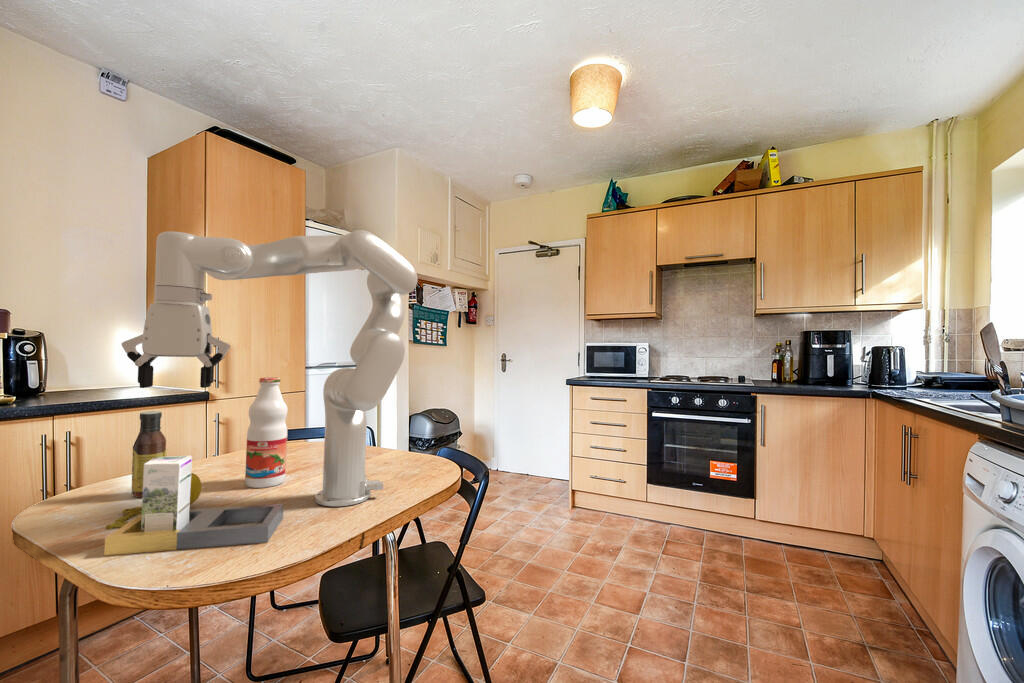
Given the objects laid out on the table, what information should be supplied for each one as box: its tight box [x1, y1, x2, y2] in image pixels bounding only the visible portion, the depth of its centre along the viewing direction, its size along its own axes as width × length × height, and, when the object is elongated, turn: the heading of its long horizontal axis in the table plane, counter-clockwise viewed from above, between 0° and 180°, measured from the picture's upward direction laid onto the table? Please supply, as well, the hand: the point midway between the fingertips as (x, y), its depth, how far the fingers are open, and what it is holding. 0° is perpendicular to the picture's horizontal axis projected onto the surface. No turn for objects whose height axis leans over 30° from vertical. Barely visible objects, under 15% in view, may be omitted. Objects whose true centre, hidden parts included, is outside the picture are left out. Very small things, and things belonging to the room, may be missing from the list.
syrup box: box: [141, 455, 193, 532], centre depth 81 cm, size 6×6×14 cm
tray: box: [103, 503, 284, 557], centre depth 83 cm, size 25×12×3 cm, turn 106°
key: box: [105, 506, 142, 530], centre depth 90 cm, size 12×1×5 cm
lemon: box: [190, 472, 202, 505], centre depth 96 cm, size 6×6×8 cm
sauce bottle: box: [131, 410, 167, 498], centre depth 103 cm, size 6×6×20 cm
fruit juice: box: [244, 377, 289, 489], centre depth 115 cm, size 9×9×28 cm
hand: (176, 387), depth 82 cm, fingers open, 9 cm apart
